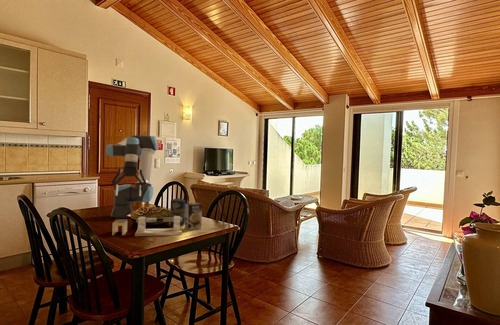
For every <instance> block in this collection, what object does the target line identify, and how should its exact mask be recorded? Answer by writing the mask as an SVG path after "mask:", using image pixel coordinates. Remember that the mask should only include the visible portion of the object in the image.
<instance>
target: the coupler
mask: <svg viewBox="0 0 500 325" xmlns="http://www.w3.org/2000/svg"><path fill="white" fill-rule="evenodd" d="M111 224H112V228H111V229H112V230H111V231H112V233H111V236H115V235H117V232H119V227H121V235H122V236H125V235H126V233H127V232H128V218H115V220H114V221H113V222H112V223H111Z"/></svg>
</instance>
